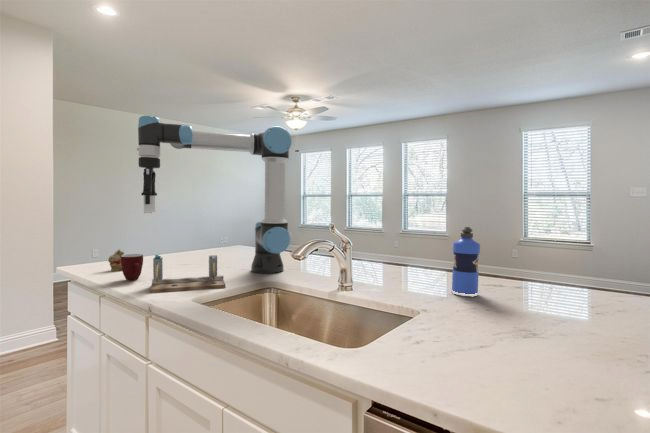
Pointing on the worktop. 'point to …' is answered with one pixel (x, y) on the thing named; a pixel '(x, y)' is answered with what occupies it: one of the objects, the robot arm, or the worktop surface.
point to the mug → (132, 266)
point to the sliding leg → (157, 268)
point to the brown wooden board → (187, 284)
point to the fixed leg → (213, 266)
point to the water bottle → (465, 263)
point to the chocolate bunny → (116, 261)
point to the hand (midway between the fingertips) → (149, 212)
